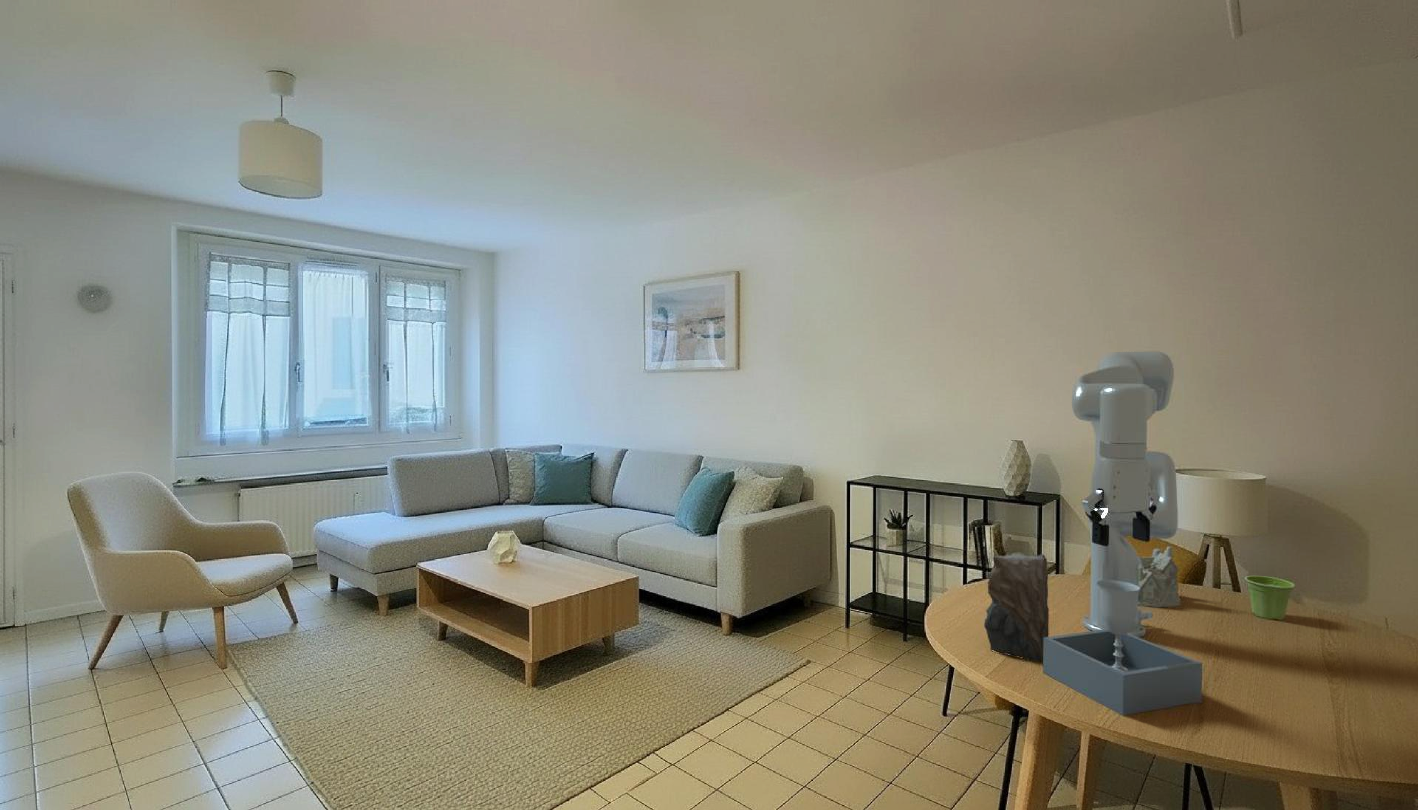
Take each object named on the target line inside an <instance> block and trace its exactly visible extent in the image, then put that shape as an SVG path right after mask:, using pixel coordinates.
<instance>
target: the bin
mask: <svg viewBox="0 0 1418 810" xmlns="http://www.w3.org/2000/svg"><path fill="white" fill-rule="evenodd" d="M1115 639H1116V638H1115V634H1113V633H1111V632H1110V631H1109V629H1106V630H1098V631H1092V630H1090V631H1085V632H1076V633H1070V634H1068V633H1067V634H1062V635H1061V634H1060V635H1054V636H1048V637H1045V638H1044V645H1043V663H1042V667H1043V668H1042V673H1043V674H1044V675H1046V676H1048V677H1050V678H1052V679H1055V680H1056V681H1058V682H1059V683H1061V684H1063V685H1065V686H1066V687H1068V688H1071V689H1073V690H1074V691H1076V692H1078V693H1080V694H1082V695H1084V696H1086V697H1088V699H1091V700H1092V701H1095V702H1096V703H1099V704H1100V705H1102V706H1104V707H1106V708H1108V709H1109V710H1111V711H1114V712H1115V713H1117V714H1118V715H1120V716H1127V715H1128V716H1129V715H1133V714H1134V715H1135V714H1138V713H1140V714H1141V713H1145V712H1150V711H1151V712H1152V711H1157V710H1161V709H1167V708H1173V707H1174V708H1175V707H1179V706H1184V705H1189V704H1195V703H1201V702H1202V699H1203V698H1202V689H1203V662H1200V661H1198V660H1196V659H1193V658H1191V657H1189V656H1186V655H1183V654H1181V653H1178V652H1175V651H1173V650H1170V649H1168V648H1165V647H1164V646H1160V645H1158V644H1155V643H1153V642H1150V641H1148V640H1146V639H1143V638H1141V637H1136V636H1134V635H1131V634H1129V633H1127V634H1126V635H1122V637H1121V642H1122V645H1123V647H1122V649H1121V652H1122V654H1123V655H1124V657H1122V660H1121V663H1122V666H1123V667H1124V668H1126V669H1127V670H1128V672H1121V671H1119V670H1117V669H1115V668H1113V667H1111V666H1114V664H1115V662H1116V659H1115V656H1114V655H1113V653H1115V650H1116V649H1115V646H1114V645H1113V644H1114V643H1115Z"/></svg>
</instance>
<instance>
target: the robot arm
mask: <svg viewBox="0 0 1418 810" xmlns="http://www.w3.org/2000/svg"><path fill="white" fill-rule="evenodd" d="M1096 368H1097V369H1096V370H1095V371H1094V370H1093V371H1091V372H1088V373H1085V374H1083V375H1081V376H1079V377H1078V378H1077V379H1076V381H1075V383H1074V385H1073V389H1072V397H1071V406H1072V412H1073V414H1074V415H1075V417H1076V418H1077V419H1079V420H1081V421H1085V422H1090V423H1091V426H1092V428H1093V430H1094V431H1093V432H1094V435H1095V447H1094V449H1095V452H1094V458H1095V459H1094V460H1095V461H1094V465H1093V470H1092V476H1091V483H1090V492H1089V493H1090V495H1088V496H1087V497H1086V498H1083V500H1082V501H1081V504H1082V506H1083V509H1084V512H1085V515H1086V516H1087V518H1088V524H1089V531H1090V533H1089V534H1090V545H1091V546H1090V547H1091V548H1090V549H1091V550H1090V559H1091V561H1090V609H1089V610H1090V614H1089V615H1086V616H1084V617H1083V618H1082V625H1083V626H1084V627H1085V628H1087V629H1088V630H1090V631H1098V630H1106V629H1108V627H1107V625H1106V623H1105V621H1104V619H1103V616H1102V613H1101V610H1100V589H1099V587H1098V585H1097V582H1098V581H1102V580H1113V581H1122V582H1127V583H1131V584H1134V585H1136V586H1139V553H1138V552H1137V549H1136V548H1135V547H1134V546H1133V544H1132V543H1130V541H1129V540H1128V539H1127V538H1126V537H1132V539H1135V540H1137V541H1141V542H1145V543H1148V542H1150V541H1151V539H1158V540H1164V539H1165V540H1166V539H1171V538H1173V537H1174V536H1175V535H1176V533H1177V531H1178V525H1179V513H1178V511H1179V510H1178V494H1177V493H1178V490H1177V489H1178V488H1177V472H1176V466H1175V462H1174V460H1173V458H1172V457H1171V456H1170V455H1169V454H1167V453H1166V452H1163V451H1154V450H1153V451H1151V450H1147V449H1148V446H1147V444H1148V443H1147V441H1148V438H1147V437H1148V433H1147V432H1148V421H1149V420H1150V419H1151V418H1152V416H1153V415H1154V414H1155V413H1156V412H1160V411H1164V410H1165V409H1166V408H1167V406H1168V405H1169V403H1170V399H1171V394H1172V389H1173V388H1172V387H1173V383H1174V376H1175V375H1174V374H1175V369H1174V365H1173V362H1172V359H1171V357H1170V356H1169V355H1167V353H1165V352H1163V351H1158V350H1157V351H1155V350H1154V351H1153V350H1152V351H1150V350H1149V351H1147V350H1146V351H1144V350H1143V351H1118V352H1112V353H1109V354H1107V355H1105V356H1104V357H1102V358H1101V359H1100V361H1099V362H1098V365H1097V367H1096ZM1153 616H1154V614H1153V612H1152V611H1151V610H1150V609H1146V610H1140V609H1139V605H1138V593H1137V615H1136V617H1135V620H1134V622H1133V625H1132V626H1131V628H1130V630H1129V631H1128V633H1129V634H1131V635H1134V636H1136V637H1139V638H1141V637H1144V636H1145V635H1146V633H1147V630H1146V626H1144V625H1143V624H1141V623H1142V621H1143V620H1148V619H1153Z"/></svg>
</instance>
